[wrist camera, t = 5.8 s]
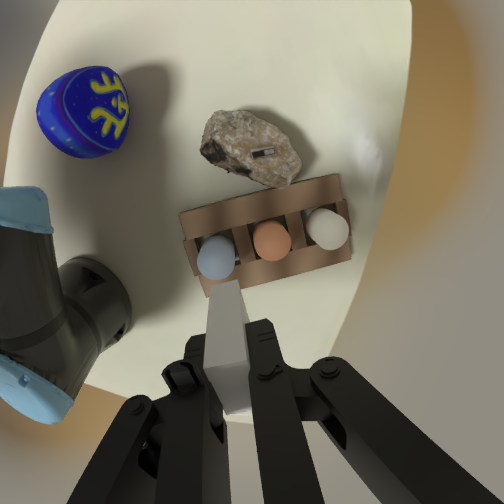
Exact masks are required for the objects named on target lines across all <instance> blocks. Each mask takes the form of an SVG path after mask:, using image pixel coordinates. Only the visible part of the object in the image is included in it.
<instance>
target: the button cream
mask: <svg viewBox="0 0 504 504" xmlns="http://www.w3.org/2000/svg"><path fill="white" fill-rule="evenodd" d="M306 230H307V233H308V234H309V236H310V237H311V238H312V239H313V240H314V241H315V242H316V243H317V244H318V245H319V246H320V247H321V248H323V249H325V250H335V249H338V248H339V247H341V246H342V245H343V244H344V243H345V242H346V240H347V238H348V234H349V227H348V224H347V222H346V220H345V219H344V218H343V217H341V216H340V215H338V214H336V213H334V212H332V211H331V210H329V209H325V208H320V209H316V210H314V211H313V212H312V213H311V214H310V215H309V216H308V218H307V221H306Z"/></svg>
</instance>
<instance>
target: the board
mask: <svg viewBox="0 0 504 504" xmlns="http://www.w3.org/2000/svg"><path fill="white" fill-rule="evenodd" d="M330 203H333V208H334V213H336V214H338V215H340V216H341V217H343V218H344V219H345V220H346V222H347V224H348V227H349V234H348V236H350V235H351V228H350V221H349V215H348V208H347V202H346V199H343V198H342V194H341V188H340V183H339V178H338V175H337V174H331V175H326V176H322V177H317V178H313V179H308V180H304V181H299V182H295V183H291V184H290V185H289V186H288V187H286V188H284V189H278V188H275V187H274V188H270V189H266V190H262V191H258V192H254V193H250V194H246V195H242V196H238V197H234V198H231V199H227V200H223V201H220V202H216V203H212V204H209V205H205V206H202V207H198V208H195V209H192V210H188V211H185V212H181V213H180V214H179V215H178V216H179V219H180V222H181V225H182V228H183V232H184V235H185V239H184V241H183V244H184V247H185V250H186V253H187V256H188V259H189V261H190V264H191V267H192V270H193V273H194V276H197V275H198V276H199V279H200V282H201V285H202V288H203V290H204V293H205V296H206V298H207V297H210V287H211V286H212V285H216V284H221V283H225V282H229V281H233V280H237V279H238V282H239V286H240V289H244V288H248V287H252V286H255V285H259V284H263V283H267V282H271V281H275V280H279V279H282V278H286V277H290V276H294V275H297V274H301V273H305V272H308V271H312V270H315V269H319V268H323V267H326V266H330V265H333V264H337V263H340V262H344V261H347V260H351V252H350V245H349V237H348V238H347V240H346V242H345V243H344V244H343V245H342V246H341V247H339V248H338V249H335V250H325V249H323V248H321V247H320V246H319V245H318V244H317V243H316V242H315V241H313V242H309V243H306V238H305V233H304V228H303V223H302V218H301V214H300V211H301V210H305V209H309V208H313V207H317V206H321V205H326V204H330ZM281 215H284V219H285V224H286V228H287V232H288V234H289V235H290V238H291V248H290V250H289V252H288V254H287V255H286V256H285V257H284V258H282V259H280V260H277V261H267V260H265V259H263V258H261V257H260V256H256V257H255V254H254V250H253V246H252V242H251V239H250V235H249V231H248V227H247V224H250V223H253V222H257V221H261V220H265V219H269V218H273V217H277V216H281ZM227 229H232V233H233V237H234V240H235V244H236V247H237V251H238V254H239V258H240V261H237V262H235V266H234V269H233V271H232V273H231V274H230V275H229V276H228V277H226V278H224V279H221V280H212V279H209V278H207V277H205V276H204V275H203V274H202V273H201V272H200V271H199V269H198V266H197V258H198V255H199V252H200V249H199V246H198V243H197V240H196V238H198V237H201V236H205V235H208V234H212V233H216V232H220V231H223V230H227Z"/></svg>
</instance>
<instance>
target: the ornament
mask: <svg viewBox="0 0 504 504" xmlns="http://www.w3.org/2000/svg"><path fill="white" fill-rule="evenodd" d="M36 113H37V120H38V123H39V126H40V128H41V130H42V132H43V133H44V134H45V136H46V137H47V138H48V140H49V141H50V142H51V143H52V144H53V145H54V146H56V147H57V148H58V149H59V150H61V151H63V152H64V153H66V154H67V155H70V156H73V157H77V158H82V159H85V158H96V157H99V156H102V155H105V154H108V153H111V152H112V151H114V150H117V149H118V148H119V147H120V146H121V144H122V142H123V140H124V138H125V136H126V132H127V129H128V124H129V105H128V96H127V93H126V89H125V87H124V85H123V83H122V81H121V79H120V77H119V76H118V75H117V74H116V73H115V72H114V71H113V70H112V69H110V68H108V67H104V66H90V67H85V68H81V69H76V70H73V71H71V72H69V73H66V74H64V75H63V76H61V77H59V78H58V79H56V80H55V81H54V82H53V83H52V84H50V85H49V86H48V87H47V88H46V89H45V91H44V92H43V93H42V95H41V97H40V99H39V101H38V104H37V110H36Z"/></svg>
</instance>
